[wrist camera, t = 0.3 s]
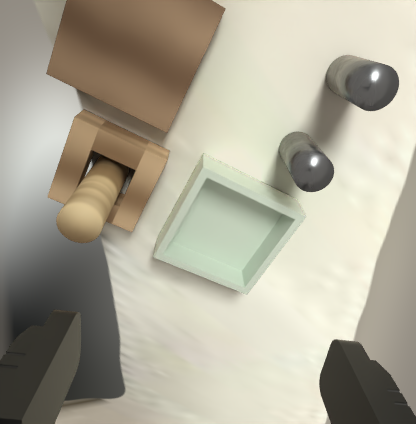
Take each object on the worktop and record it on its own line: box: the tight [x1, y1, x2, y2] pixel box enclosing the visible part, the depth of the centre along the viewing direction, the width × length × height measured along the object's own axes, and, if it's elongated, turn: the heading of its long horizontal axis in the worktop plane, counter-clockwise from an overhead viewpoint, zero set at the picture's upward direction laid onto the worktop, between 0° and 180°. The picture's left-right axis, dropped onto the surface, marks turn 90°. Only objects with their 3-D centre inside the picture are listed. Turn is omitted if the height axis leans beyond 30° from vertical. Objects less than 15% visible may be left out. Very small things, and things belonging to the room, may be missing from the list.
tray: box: [153, 153, 306, 295], centre depth 34 cm, size 10×10×3 cm
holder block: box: [48, 110, 169, 232], centre depth 31 cm, size 8×8×2 cm
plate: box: [46, 0, 225, 133], centre depth 27 cm, size 10×10×2 cm
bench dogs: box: [279, 55, 399, 192], centre depth 28 cm, size 10×3×6 cm, turn 152°
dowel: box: [56, 155, 129, 243], centre depth 28 cm, size 3×3×10 cm
